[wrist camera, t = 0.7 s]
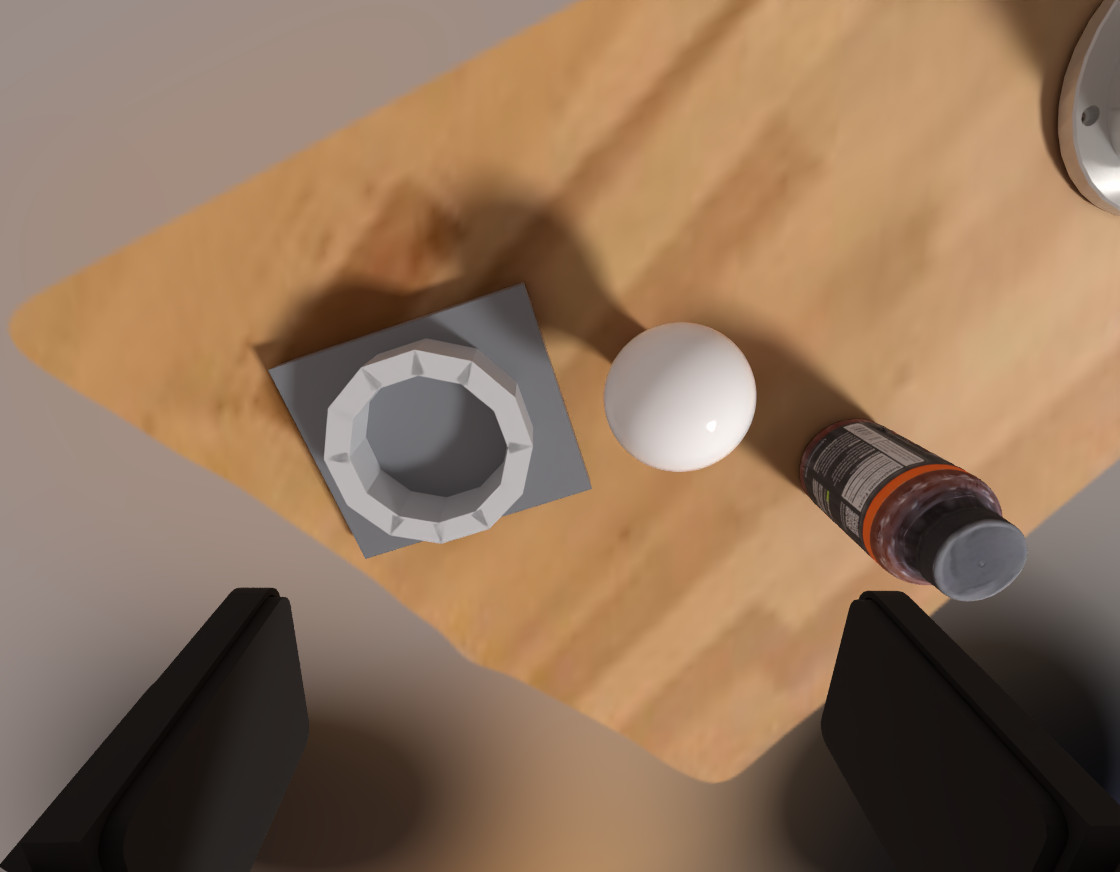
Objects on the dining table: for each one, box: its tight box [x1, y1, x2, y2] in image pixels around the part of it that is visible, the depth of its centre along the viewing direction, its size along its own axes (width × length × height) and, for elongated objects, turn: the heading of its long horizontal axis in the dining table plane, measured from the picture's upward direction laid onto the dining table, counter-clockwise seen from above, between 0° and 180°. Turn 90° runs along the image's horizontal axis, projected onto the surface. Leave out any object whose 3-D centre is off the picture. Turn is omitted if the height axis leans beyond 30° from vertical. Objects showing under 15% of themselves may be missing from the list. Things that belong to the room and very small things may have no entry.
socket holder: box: [268, 282, 592, 559], centre depth 30 cm, size 14×12×4 cm
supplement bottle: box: [799, 419, 1027, 601], centre depth 29 cm, size 6×6×11 cm
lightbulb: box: [604, 322, 756, 472], centre depth 26 cm, size 6×6×11 cm
